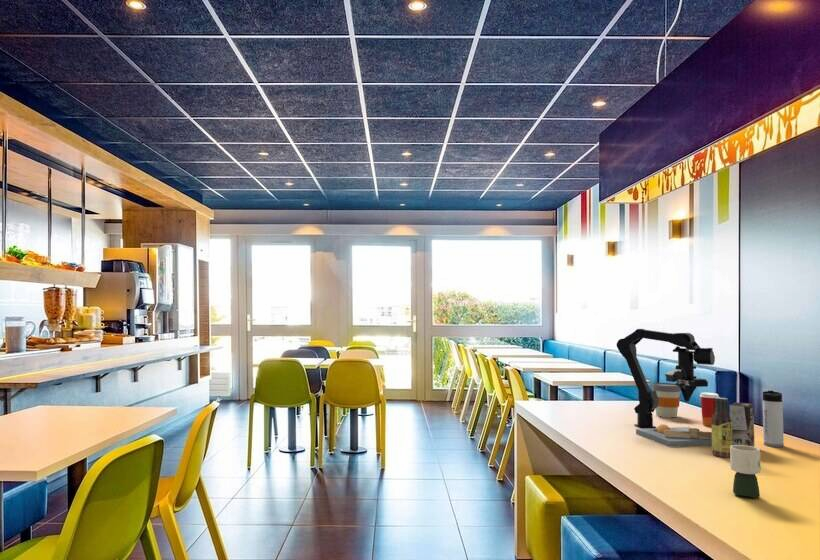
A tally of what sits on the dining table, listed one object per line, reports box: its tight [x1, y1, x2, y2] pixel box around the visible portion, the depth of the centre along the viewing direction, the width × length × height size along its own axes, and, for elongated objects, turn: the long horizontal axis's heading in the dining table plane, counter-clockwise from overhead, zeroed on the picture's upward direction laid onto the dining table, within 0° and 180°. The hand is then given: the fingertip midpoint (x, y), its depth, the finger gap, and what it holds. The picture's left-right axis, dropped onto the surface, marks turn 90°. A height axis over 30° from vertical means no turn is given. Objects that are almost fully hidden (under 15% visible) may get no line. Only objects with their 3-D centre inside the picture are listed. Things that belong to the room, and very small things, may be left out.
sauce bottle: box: [711, 397, 732, 458], centre depth 193 cm, size 7×6×20 cm
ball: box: [656, 423, 671, 434], centre depth 220 cm, size 5×5×5 cm
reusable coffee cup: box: [651, 382, 681, 418], centre depth 264 cm, size 13×13×15 cm
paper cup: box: [699, 392, 720, 428], centre depth 243 cm, size 8×8×14 cm
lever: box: [664, 408, 716, 438], centre depth 210 cm, size 4×21×11 cm, turn 78°
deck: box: [635, 426, 712, 447], centre depth 217 cm, size 22×24×2 cm
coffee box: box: [728, 401, 756, 447], centre depth 203 cm, size 9×6×16 cm
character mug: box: [729, 445, 762, 499], centre depth 151 cm, size 11×7×13 cm, turn 167°
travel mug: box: [762, 390, 785, 448], centre depth 208 cm, size 6×7×20 cm
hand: (686, 401), depth 228 cm, fingers closed
